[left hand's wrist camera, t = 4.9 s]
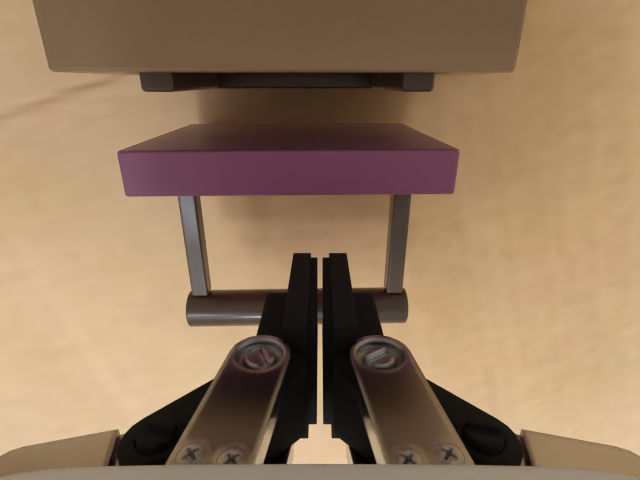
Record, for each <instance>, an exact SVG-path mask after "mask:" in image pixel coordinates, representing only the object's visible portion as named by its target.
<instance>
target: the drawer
mask: <svg viewBox="0 0 640 480" xmlns="http://www.w3.org/2000/svg"><path fill="white" fill-rule="evenodd" d="M139 74H140V80H141V86H142V89H143V91H145V92H175V91H189V90H202V89H216V88H374V89H384V90H394V91H404V92H430V91H432V90H433V87H434V78H435V73H139ZM458 158H459V150H458V149H456V148H454V147H452V146H449V145H447V144H445V143H443V142H440V141H438V140H436V139H434V138H432V137H429V136H427V135H425V134H423V133H420V132H418V131H416V130H414V129H412V128H409V127H407V126H405V125H403V124H191V125H188V126H186V127H183V128H180V129H177V130H175V131H172V132H169V133H167V134H164V135H161V136H158V137H156V138H153V139H150V140H147V141H145V142H142V143H139V144H137V145H134V146H131V147H128V148H126V149H123V150H120V151H118V159H119V164H120V169H121V174H122V179H123V184H124V189H125V194H126V196H178V200H179V207H180V214H181V221H182V228H183V234H184V241H185V248H186V255H187V262H188V269H189V275H190V282H191V289H192V291H191V292H190V293H189V295H188V298H187V303H186V318H187V322H188V324H189V326H192V327H194V326H252V325H259V324H260V320H261V316H262V312H263V308H264V304H265V300H266V296H267V293H268V292H288V289H250V290H211V282H210V274H209V266H208V258H207V250H206V242H205V234H204V226H203V218H202V210H201V201H200V196H245V195H371V194H391V196H390V210H389V224H388V238H387V251H386V265H385V279H384V287H385V288H352V292H372V293H373V296H374V300H375V304H376V308H377V312H378V316H379V320H380V323H405V322H406V321H407V317H408V299H407V294H406V291H405V289H404V288H403V276H404V265H405V255H406V244H407V233H408V223H409V212H410V201H411V194H452V193H453V192H454V188H455V180H456V173H457V166H458ZM317 324H323V288H318V289H317Z"/></svg>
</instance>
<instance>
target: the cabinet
mask: <svg viewBox="0 0 640 480" xmlns="http://www.w3.org/2000/svg"><path fill="white" fill-rule="evenodd" d="M526 3H527V0H33V4H34V8H35V12H36V16H37V20H38V24H39V28H40V32H41V36H42V40H43V44H44V49H45V53H46V57H47V61H48V65H49V68H50V70H52V71H54V72H72V73H96V74H122V75H140V74H139V73H435V76H440V75H461V74H482V73H503V72H512V71H514V69H515V65H516V59H517V54H518V48H519V43H520V37H521V31H522V26H523V20H524V14H525V9H526Z"/></svg>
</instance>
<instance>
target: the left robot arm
mask: <svg viewBox="0 0 640 480" xmlns="http://www.w3.org/2000/svg"><path fill="white" fill-rule="evenodd" d="M317 336H318V326H317V258H311V253H294V254H293V261H292V267H291V273H290V280H289V286H288V292H268V293H267V296H266V300H265V304H264V308H263V312H262V316H261V320H260V324H259V328H258V332H257V336H253V337H249V338H246V339H244V340H242V341H240V342H239V343H237V344H236V345H235V346H234V347H233V348H232V349H231V350H230V352H229V354H228V355H227V357H226V359H225V361H224V362H223V364H222V366H221V368H220V369H219V371H218V373H217V375H216V376H215V378H214V379H213V380H211V381H209V382H207V383H206V384H204V385H202V386H200V387H199V388H197V389H195V390H193V391H191V392H190V393H188V394H186V395H184V396H183V397H181V398H179V399H177V400H176V401H174V402H172V403H170V404H168V405H167V406H165V407H163V408H161V409H160V410H158V411H156V412H154V413H152V414H151V415H149V416H147V417H145V418H144V419H142V420H141V421H139V422H138V423H136V424H135V425H133V426H132V427H131V428H130V429H129V430H128V431H127V432H126V433H125V434H123V435H120V433H119V429H117V430H111V431H106V432H101V433H95V434H90V435H84V436H79V437H73V438H68V439H63V440H57V441H52V442H46V443H41V444H36V445H30V446H25V447H21V448H18V449H15V450H11V451H9V452H7V453H5V454H3V455H1V456H0V480H640V456H639V455H637V454H635V453H633V452H631V451H629V450H625V449H622V448H619V447H615V446H610V445H604V444H599V443H594V442H588V441H583V440H577V439H572V438H567V437H561V436H556V435H550V434H545V433H539V432H534V431H529V430H523V429H521V433H520V435H517V434H515V433H514V432H513V431H512V430H511V429H510V428H509V427H508V426H507V425H505V424H504V423H502V422H501V421H499V420H498V419H496V418H495V417H493V416H491V415H489V414H488V413H486V412H484V411H482V410H480V409H479V408H477V407H475V406H473V405H472V404H470V403H468V402H466V401H464V400H463V399H461V398H459V397H457V396H456V395H454V394H452V393H450V392H449V391H447V390H445V389H443V388H441V387H440V386H438V385H436V384H434V383H433V382H431V381H429V380H427V379H426V378H425V376H424V375H423V373H422V371H421V369H420V368H419V366H418V364H417V362H416V361H415V359H414V357H413V355H412V354H411V352H410V350H409V349H408V348H407V347H406V346H405V345H404V344H403V343H401V342H400V341H398V340H396V339H394V338H391V337H387V336H383V332H382V328H381V324H380V320H379V316H378V312H377V308H376V304H375V300H374V296H373V293H372V292H352V286H351V280H350V273H349V267H348V261H347V254H346V253H329V258H323V326H322V337H323V424H331V429H332V438H340V439H341V440H343V441H344V442H345V443H346V452H347V460H348V464H292V460H293V452H294V443H295V442H296V441H297V440H299V439H300V438H308V429H309V424H317Z"/></svg>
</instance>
